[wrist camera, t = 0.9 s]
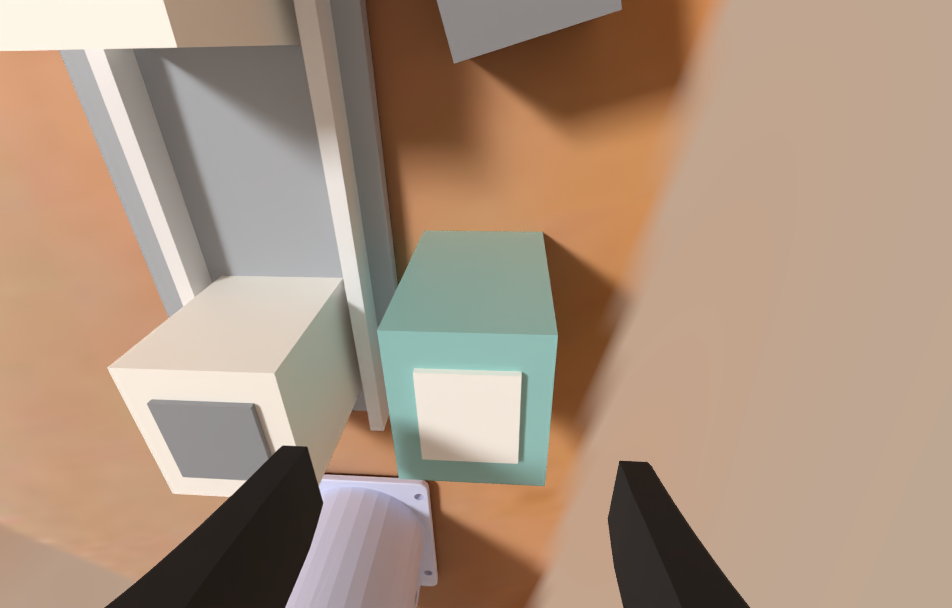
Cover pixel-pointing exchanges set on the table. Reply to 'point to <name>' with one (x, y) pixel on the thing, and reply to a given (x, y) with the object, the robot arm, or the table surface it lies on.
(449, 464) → the block
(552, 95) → the table surface
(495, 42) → the dark loose block
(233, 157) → the board
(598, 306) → the table surface
